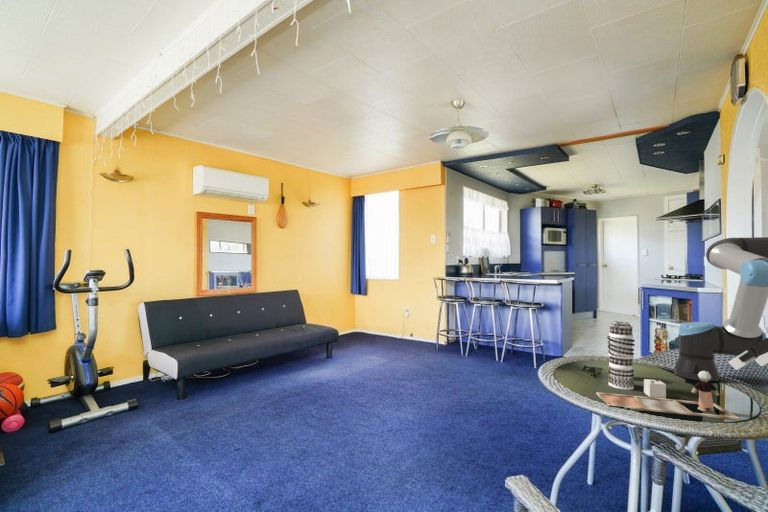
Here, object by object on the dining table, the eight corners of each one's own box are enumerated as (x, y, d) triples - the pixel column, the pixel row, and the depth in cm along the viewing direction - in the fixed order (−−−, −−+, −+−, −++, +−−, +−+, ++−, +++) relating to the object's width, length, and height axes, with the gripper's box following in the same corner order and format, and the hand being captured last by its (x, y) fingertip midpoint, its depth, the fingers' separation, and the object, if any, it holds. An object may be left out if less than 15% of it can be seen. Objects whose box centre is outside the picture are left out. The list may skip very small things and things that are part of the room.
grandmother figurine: (710, 407, 123) (710, 369, 123) (721, 412, 119) (721, 372, 119) (688, 407, 123) (687, 369, 123) (698, 412, 119) (698, 372, 119)
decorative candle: (611, 388, 141) (611, 323, 141) (604, 381, 150) (604, 319, 150) (638, 391, 138) (638, 324, 139) (629, 383, 147) (629, 321, 148)
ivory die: (659, 393, 136) (659, 378, 136) (666, 398, 131) (665, 382, 131) (643, 392, 137) (643, 377, 137) (649, 397, 132) (649, 381, 132)
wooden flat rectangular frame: (714, 405, 125) (714, 403, 125) (739, 420, 113) (739, 418, 113) (596, 393, 135) (596, 392, 135) (607, 406, 122) (607, 404, 122)
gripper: (809, 335, 90) (733, 379, 104) (854, 330, 100) (779, 371, 113) (779, 311, 95) (710, 356, 109) (824, 309, 105) (756, 350, 118)
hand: (745, 364), depth 111 cm, fingers open, 13 cm apart
